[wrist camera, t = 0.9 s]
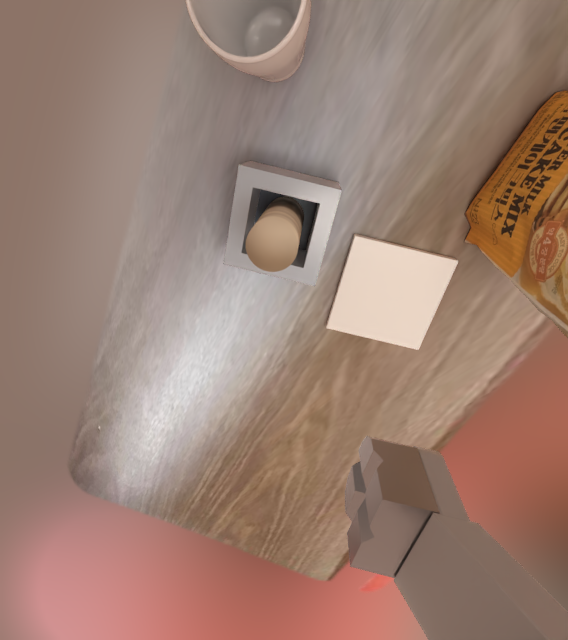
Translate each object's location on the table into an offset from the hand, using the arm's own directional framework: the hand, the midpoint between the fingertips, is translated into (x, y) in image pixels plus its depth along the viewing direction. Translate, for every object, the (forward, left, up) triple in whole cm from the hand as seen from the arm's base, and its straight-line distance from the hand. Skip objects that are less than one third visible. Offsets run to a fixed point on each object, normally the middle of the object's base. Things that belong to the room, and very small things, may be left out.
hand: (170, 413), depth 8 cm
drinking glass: (-12, -4, -34) cm, 36 cm away
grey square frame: (+2, 0, -34) cm, 34 cm away
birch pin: (+2, 0, -34) cm, 34 cm away
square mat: (+8, +13, -34) cm, 37 cm away
